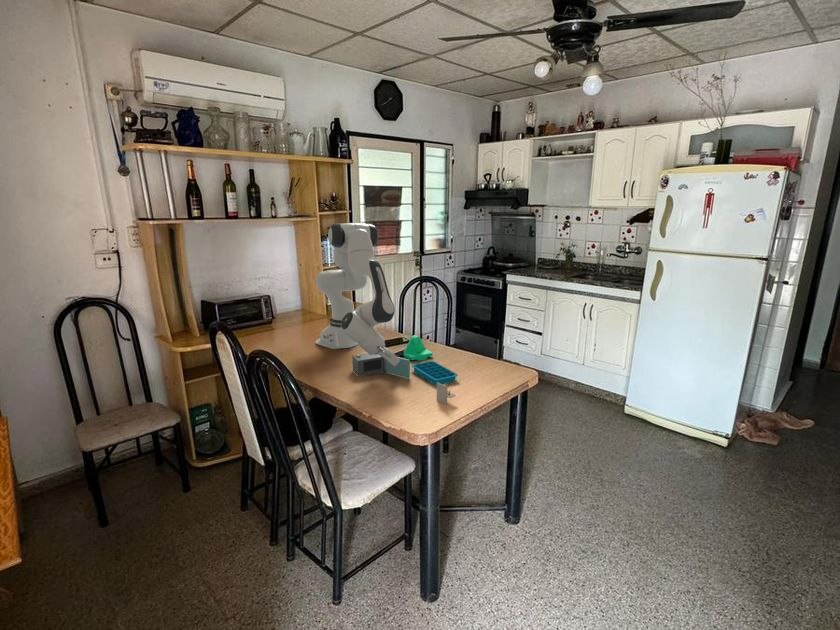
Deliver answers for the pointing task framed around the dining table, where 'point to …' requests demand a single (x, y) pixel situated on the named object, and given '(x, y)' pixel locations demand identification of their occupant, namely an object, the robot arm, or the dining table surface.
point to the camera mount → (416, 349)
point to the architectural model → (443, 393)
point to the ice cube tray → (434, 372)
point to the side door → (398, 368)
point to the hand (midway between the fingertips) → (396, 363)
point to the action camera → (367, 364)
